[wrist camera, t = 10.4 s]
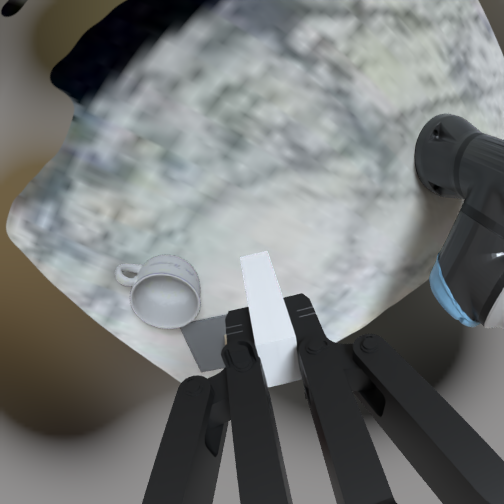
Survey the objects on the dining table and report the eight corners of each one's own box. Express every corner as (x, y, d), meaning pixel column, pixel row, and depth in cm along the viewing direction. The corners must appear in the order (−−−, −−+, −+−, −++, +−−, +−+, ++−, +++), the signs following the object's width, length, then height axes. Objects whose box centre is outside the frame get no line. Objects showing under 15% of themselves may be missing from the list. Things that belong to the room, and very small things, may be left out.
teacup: (214, 273, 53) (215, 303, 46) (174, 310, 55) (170, 341, 48) (149, 221, 47) (139, 245, 40) (112, 265, 50) (99, 293, 43)
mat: (295, 298, 57) (295, 299, 57) (302, 348, 64) (302, 350, 64) (179, 324, 57) (179, 325, 57) (201, 370, 64) (201, 372, 63)
